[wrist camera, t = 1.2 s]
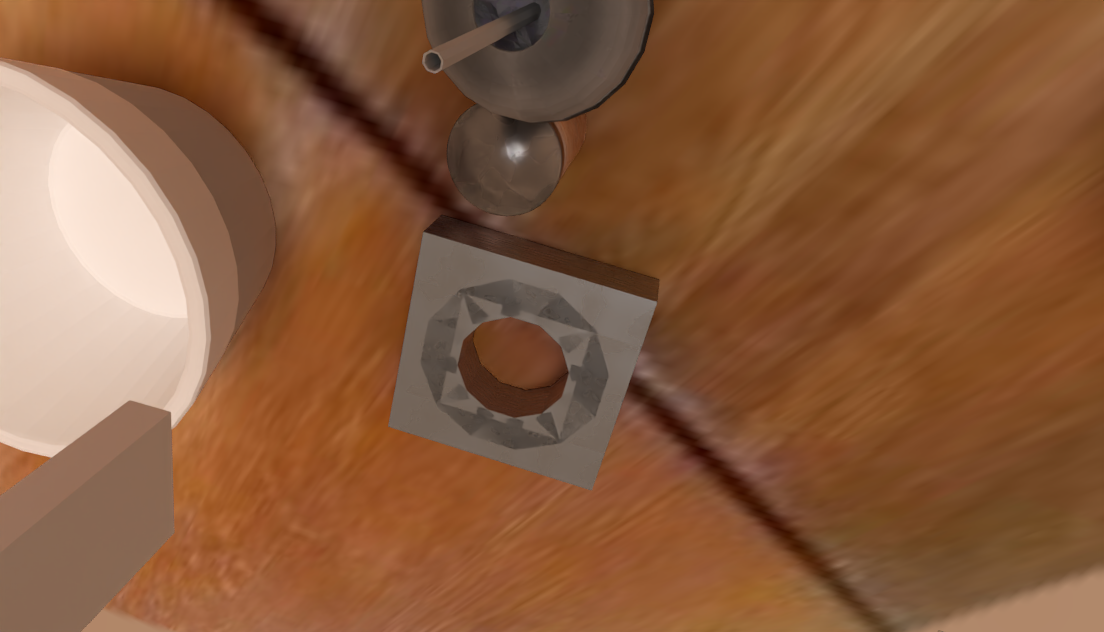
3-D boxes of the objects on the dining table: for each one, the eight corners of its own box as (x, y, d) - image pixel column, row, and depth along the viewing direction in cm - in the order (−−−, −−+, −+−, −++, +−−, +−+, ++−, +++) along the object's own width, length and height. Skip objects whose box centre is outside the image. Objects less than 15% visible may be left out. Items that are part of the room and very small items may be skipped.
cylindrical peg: (505, 63, 35) (458, 83, 28) (598, 90, 35) (574, 117, 28) (486, 156, 37) (437, 197, 30) (573, 182, 37) (545, 229, 30)
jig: (441, 214, 39) (423, 231, 36) (659, 279, 38) (657, 302, 36) (406, 399, 44) (388, 426, 41) (597, 459, 43) (591, 490, 41)
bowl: (-53, 61, 40) (-287, 85, 30) (258, 2, 36) (101, 8, 26) (86, 370, 47) (-67, 468, 38) (358, 351, 43) (264, 456, 34)
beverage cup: (699, -13, 32) (714, -12, 14) (593, 115, 35) (495, 248, 17) (574, -130, 31) (422, -286, 13) (476, 12, 34) (244, 39, 16)
